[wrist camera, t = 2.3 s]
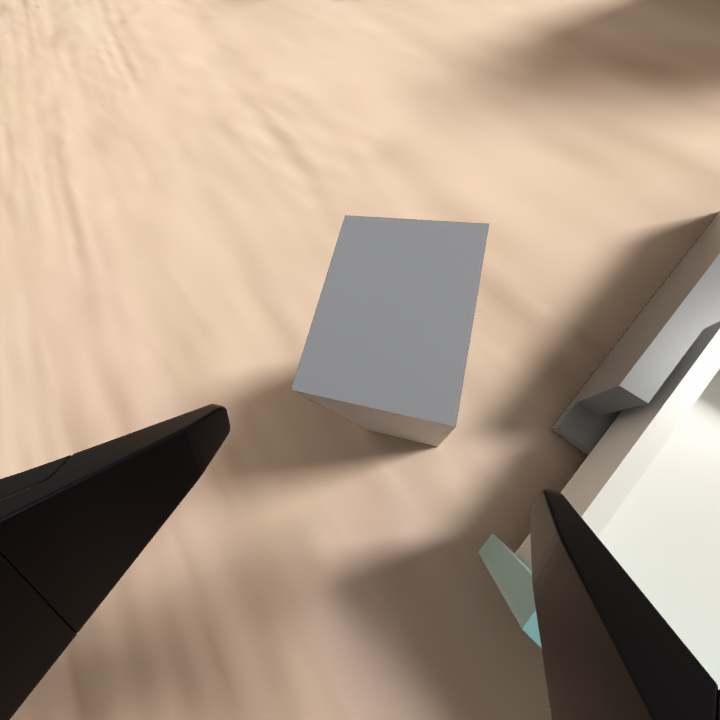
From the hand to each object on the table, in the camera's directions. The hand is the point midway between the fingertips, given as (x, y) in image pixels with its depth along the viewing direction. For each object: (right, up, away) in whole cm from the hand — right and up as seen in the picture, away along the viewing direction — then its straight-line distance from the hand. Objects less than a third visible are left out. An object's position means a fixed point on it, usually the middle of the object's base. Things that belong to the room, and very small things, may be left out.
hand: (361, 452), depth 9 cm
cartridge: (+3, 0, +11) cm, 12 cm away
